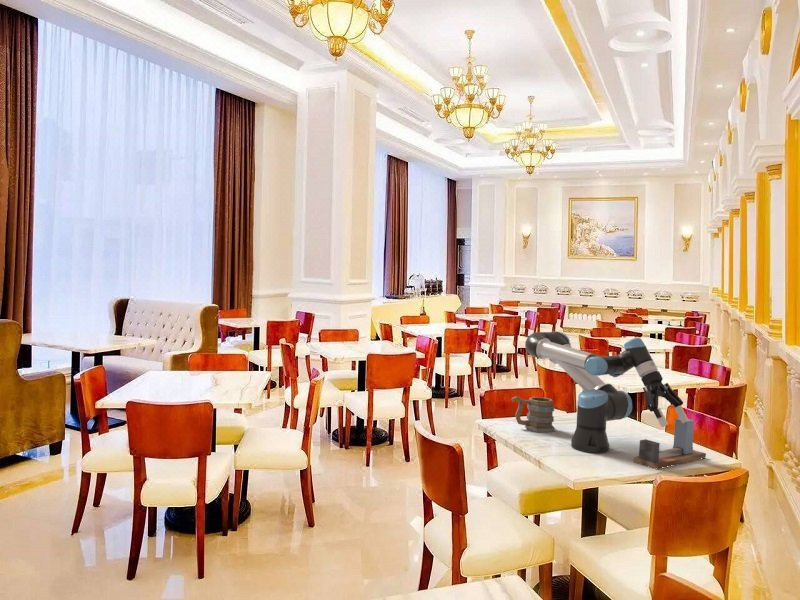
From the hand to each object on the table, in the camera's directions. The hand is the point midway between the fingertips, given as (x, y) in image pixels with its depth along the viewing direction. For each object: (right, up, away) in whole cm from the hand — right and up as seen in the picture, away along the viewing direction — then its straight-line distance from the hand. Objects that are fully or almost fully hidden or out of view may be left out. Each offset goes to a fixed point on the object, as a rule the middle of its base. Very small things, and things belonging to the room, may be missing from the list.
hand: (675, 424), depth 237 cm
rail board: (0, -15, +4) cm, 16 cm away
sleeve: (+7, -13, +9) cm, 17 cm away
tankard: (-46, -12, +46) cm, 66 cm away
